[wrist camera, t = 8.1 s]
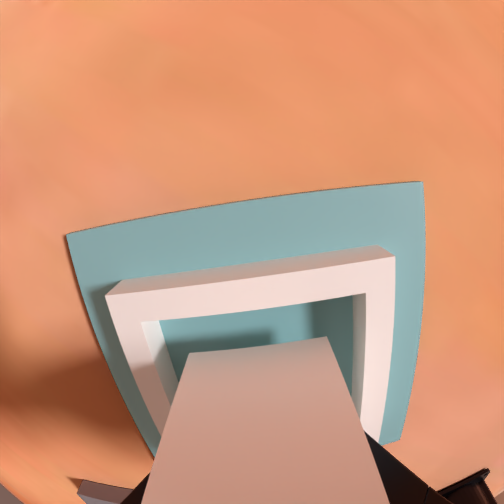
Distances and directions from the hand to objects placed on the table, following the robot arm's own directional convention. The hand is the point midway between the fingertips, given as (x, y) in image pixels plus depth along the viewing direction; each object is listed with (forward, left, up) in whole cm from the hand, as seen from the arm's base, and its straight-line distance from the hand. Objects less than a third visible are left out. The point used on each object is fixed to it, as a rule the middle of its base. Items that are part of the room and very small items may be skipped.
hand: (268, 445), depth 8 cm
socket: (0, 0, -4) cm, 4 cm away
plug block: (0, 0, -2) cm, 2 cm away
